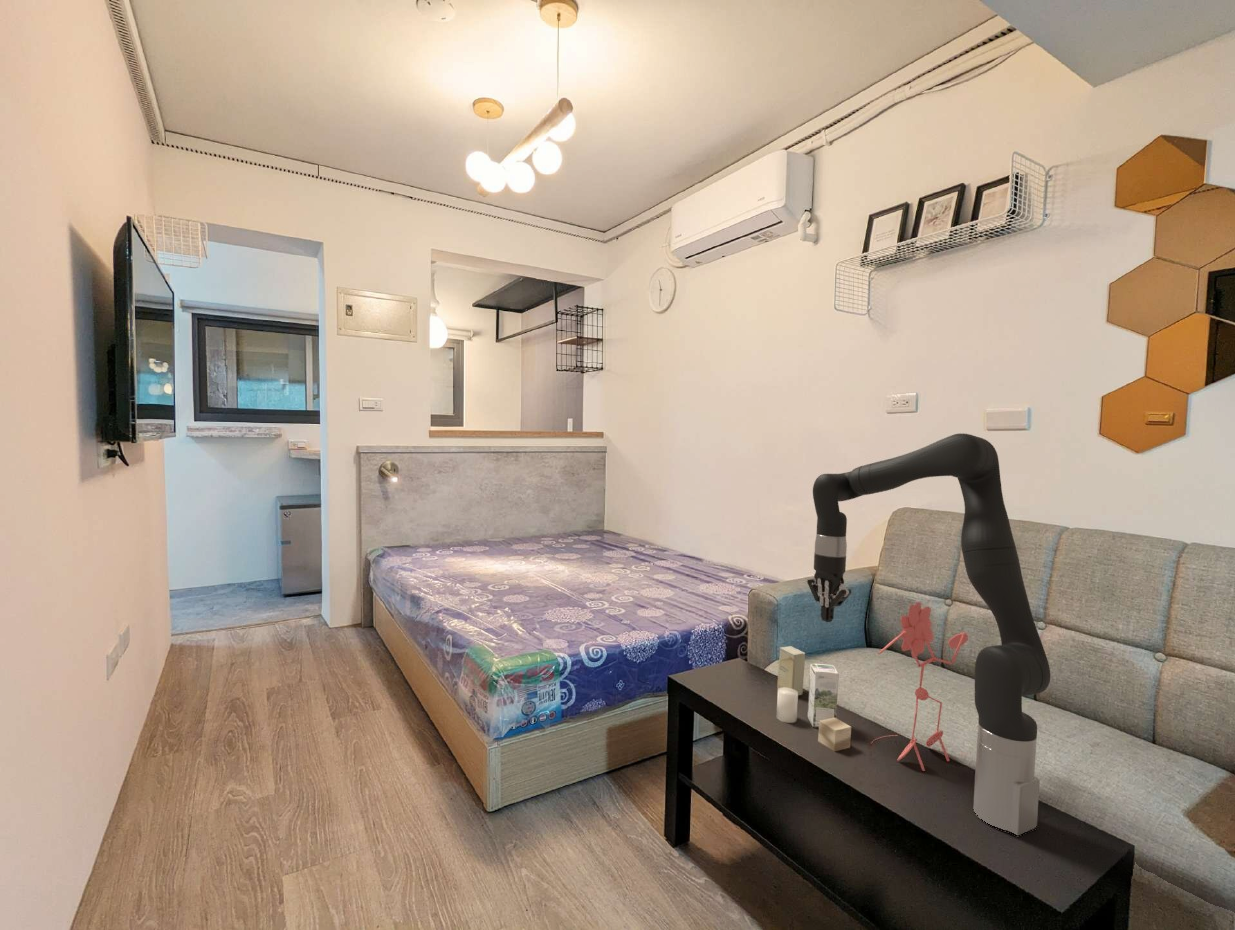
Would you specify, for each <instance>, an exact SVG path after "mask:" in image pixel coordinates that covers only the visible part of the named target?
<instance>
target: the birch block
mask: <svg viewBox="0 0 1235 930" xmlns="http://www.w3.org/2000/svg"><path fill="white" fill-rule="evenodd" d="M851 735H852V726H850V725H849V724H847V723H846V722H845V721H844V722H843V721H842V720H840V719H838V718H837V717H836V718H835V717H834V718H830V719H825V720H821V721H819V728H818V735H817V736H818V738H817V742H818V743H820V744H822V745H823V746H824V747H826V748H828V749H830V750H831V751H832V752H839V751H841V750H846V749H850V748H851V738H852V736H851Z"/></svg>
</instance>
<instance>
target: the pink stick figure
mask: <svg viewBox="0 0 1235 930" xmlns="http://www.w3.org/2000/svg"><path fill="white" fill-rule="evenodd" d="M931 610H932V609H931V607H930V606H924V607H923V608H922V603H921V602H920V601H918V602H916V603H915V604H913V603H912V604H910V606H909V608H908V616H907V615H904V614H903V615H902V616H900V625H901V627H902V630H901V632H900V634H898V635H897V636H896V637H895V638H893V639H892V640H891V641H889V642H888V644H886V645H885V646H884V647H883V648H882V649H880V651H879V652H878V654H877V655H881V654H882V653H883V652H885V650H887V649H888V648H890V646H892V645H893V644H895V643H896V642H897V641H898V640H899V639H900V638H901V639H902V640H903V642H902V644H901V651H903V652H906V651H909V650H910V654H911V657H912V659H914V660H915V663H916V665H917V666H918V668H920V676H919V677H920V678H919V679H920V680H919V687H918V688H917V689H915V691H914V695H915V697H916V698H915V713H914V719H913V727H912V735H911V740H910V741H909V743H908V745H906V747H905V748H904V750H902V752H901V754H900V755H899V756H898V758H897V759H896V760H897V761H898V762H899V761H901V759H903V758H904V757H906V755H907V754H908V753H909V752H910V751H911V750H912V749H913V748H914V749H913V750H914V751H915V754H916V757H917V760H918V763H919V765H920V768H921V771H923V772H924V771H926V770H925V767H924V764H923V761H922V758H921V756H920V755H921V754H920V752H919V749H918V747H917V744H916V743H917V740H918V738H915V731H916V723H917V717H918V704H919V700H920V701H926V700H928V699H931V700H932V701H935V702H936V703H939V710H938V716H937V717H938V718H937V724H936V731H935V732H934V733H933V734H932V735H931V736H930V737H929V738H928V739H926V742H925V744H926V745H925V746H927V747H928V748H930V747H931V746H932V745H934V744H935V743H937V742H938V741H939V744H940V745H941V746H940V747H941V749H942V751H943V754H944V756H945V759H946V761H947V762H950V758H949V756H948V752H947V750H946V748H945V746H944V741H943V740H942V736H943V735H944V731H943V730H939V728H940V722H941V721H940V720H941V713H942V707H943V704H942V701H940V700H938V699H936V698H933V697H931V696H930V695H929V691H928V690H927V689H926V688H923V687H922V685H923V677H924V671H925V666H926V665H929V664H931V663H932V662H933V663H936V662H937V661H938V662H940V663H944V664H948V665H952V666H953V665H954V663H955V661H956V659H957V656H958V653H959V651H960V648H961V646H963V645H965V644H966V643H967V641H968V640H969V636H968V634H967V633H966V632H965V631H963V632H961V633H958V634H955V635H954V636H952V637H951V638H949V640H948V643H947V644H948V645H949V648H950V649H951V650H954V649H955V652H954V654H953V656H952V659H951V661H950V660H949V661H948V660H945V659H941V658H937V657H936V656H935V655H934V652H933V649H932V647H931V644H930V643H931V642H933V640H934V635H933V631H932V628H931V626H932V621H931V620H930V615H931ZM925 646H927V649H928V650H929V654H930V656H931V657H930V658H928V659H927V660H924V661H922V662H920V661H919V658H918V656H919V654H924V653H923V652H924V650H925ZM896 736H897V737H898V734H893V735H891V734H890V735H889V737H896ZM886 737H888V735H883V736H881V737H880V736H879V737H878V736H876V737H875V738H874V739H873V741H871V743H873V742H874V741H875V740H879V739H881V738H886ZM869 753H870V754H872V752H871V751H869ZM960 753H962V754H963V755H964V756H967V757H968V755H967V754H966V753H964V752H962V751H960Z"/></svg>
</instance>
